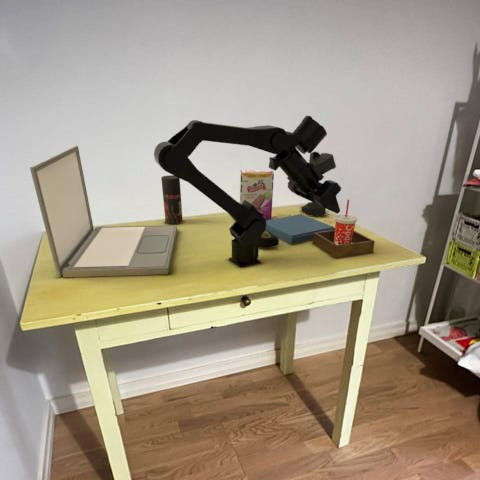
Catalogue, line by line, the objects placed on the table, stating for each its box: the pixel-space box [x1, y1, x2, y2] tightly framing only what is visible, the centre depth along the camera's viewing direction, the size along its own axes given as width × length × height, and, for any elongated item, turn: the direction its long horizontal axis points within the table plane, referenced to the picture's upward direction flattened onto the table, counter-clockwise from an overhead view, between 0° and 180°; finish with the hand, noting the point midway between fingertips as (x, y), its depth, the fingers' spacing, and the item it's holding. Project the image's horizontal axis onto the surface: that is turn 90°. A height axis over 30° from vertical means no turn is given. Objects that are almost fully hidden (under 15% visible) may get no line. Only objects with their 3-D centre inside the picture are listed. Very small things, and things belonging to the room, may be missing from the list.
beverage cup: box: [333, 199, 358, 245], centre depth 114 cm, size 6×6×14 cm
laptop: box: [29, 145, 178, 278], centre depth 109 cm, size 35×28×26 cm
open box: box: [311, 230, 376, 259], centre depth 117 cm, size 13×13×4 cm
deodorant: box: [161, 174, 184, 226], centre depth 136 cm, size 6×6×15 cm
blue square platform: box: [264, 213, 335, 245], centre depth 130 cm, size 18×18×2 cm
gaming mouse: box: [300, 201, 327, 217], centre depth 149 cm, size 6×15×4 cm, turn 23°
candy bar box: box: [239, 169, 275, 220], centre depth 138 cm, size 11×5×16 cm, turn 93°
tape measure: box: [259, 231, 280, 249], centre depth 118 cm, size 7×7×4 cm
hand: (329, 207), depth 110 cm, fingers open, 9 cm apart
